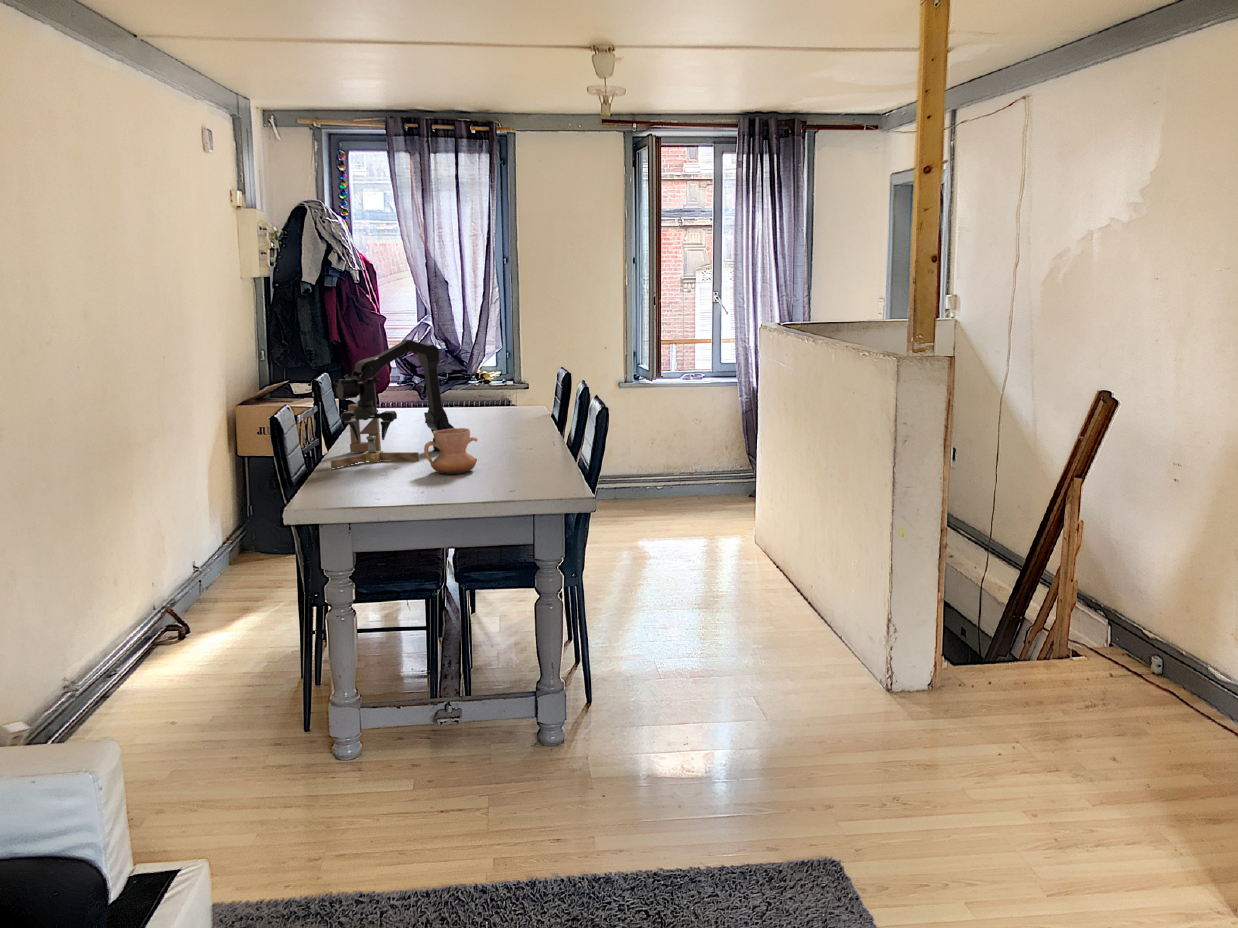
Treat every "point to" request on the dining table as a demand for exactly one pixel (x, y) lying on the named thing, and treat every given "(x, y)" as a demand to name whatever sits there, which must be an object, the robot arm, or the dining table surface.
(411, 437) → the dining table surface
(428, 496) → the dining table surface
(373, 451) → the hinge pin
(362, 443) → the wooden block
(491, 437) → the dining table surface
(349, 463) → the tan piece
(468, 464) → the ceramic jug
